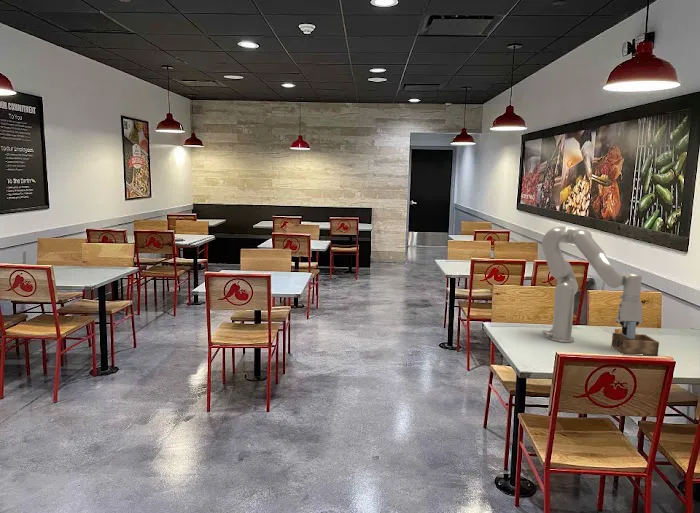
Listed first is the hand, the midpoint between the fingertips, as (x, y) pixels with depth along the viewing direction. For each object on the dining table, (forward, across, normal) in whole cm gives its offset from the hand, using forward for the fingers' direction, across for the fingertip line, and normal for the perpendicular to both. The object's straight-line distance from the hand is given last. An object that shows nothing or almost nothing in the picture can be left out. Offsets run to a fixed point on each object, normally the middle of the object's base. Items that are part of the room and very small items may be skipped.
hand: (627, 334), depth 258 cm
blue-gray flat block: (+1, 0, 0) cm, 1 cm away
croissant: (+9, +9, +22) cm, 25 cm away
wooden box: (+8, +4, 0) cm, 9 cm away
